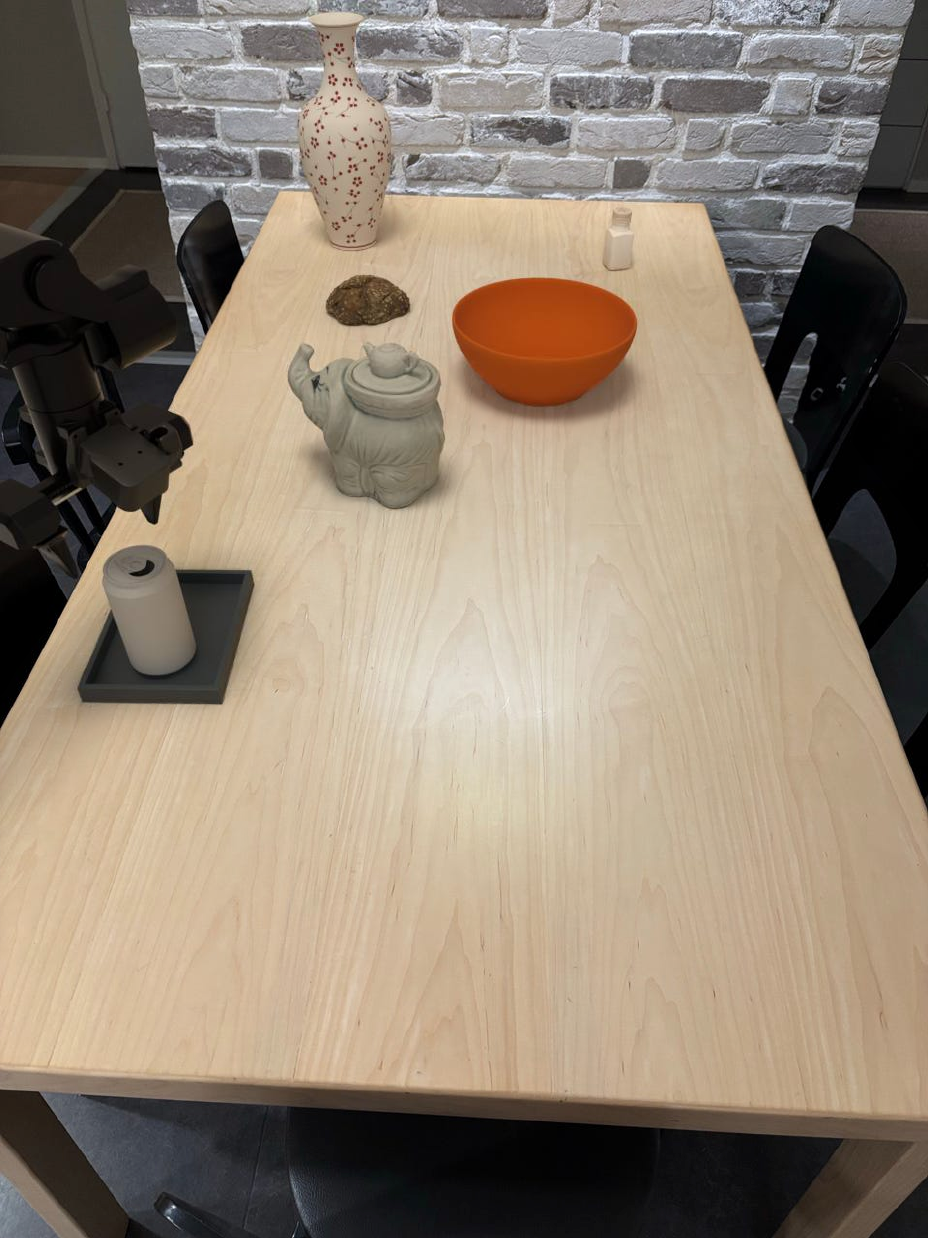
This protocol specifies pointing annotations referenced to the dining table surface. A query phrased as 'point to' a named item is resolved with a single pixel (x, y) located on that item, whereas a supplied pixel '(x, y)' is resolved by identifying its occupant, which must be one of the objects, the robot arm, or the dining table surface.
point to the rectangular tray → (203, 680)
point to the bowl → (543, 337)
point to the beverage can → (149, 609)
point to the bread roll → (367, 300)
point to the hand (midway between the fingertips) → (114, 548)
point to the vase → (345, 140)
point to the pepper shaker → (619, 240)
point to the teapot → (375, 420)
